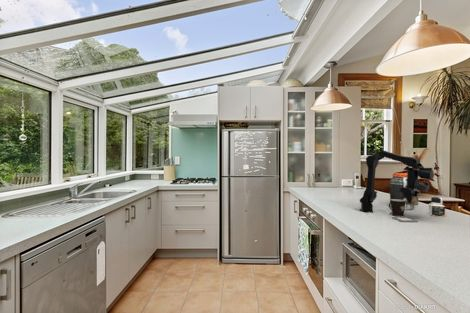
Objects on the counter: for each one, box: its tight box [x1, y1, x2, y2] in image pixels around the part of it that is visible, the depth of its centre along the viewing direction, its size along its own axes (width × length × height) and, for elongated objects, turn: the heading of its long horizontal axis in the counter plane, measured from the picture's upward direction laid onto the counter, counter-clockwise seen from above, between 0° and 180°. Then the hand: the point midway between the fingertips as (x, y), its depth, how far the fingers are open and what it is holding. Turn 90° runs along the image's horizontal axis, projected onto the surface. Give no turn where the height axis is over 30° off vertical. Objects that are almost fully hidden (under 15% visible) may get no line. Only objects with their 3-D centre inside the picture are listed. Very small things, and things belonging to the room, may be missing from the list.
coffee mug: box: [388, 199, 406, 217], centre depth 178 cm, size 12×9×10 cm
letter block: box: [406, 195, 419, 207], centre depth 165 cm, size 5×5×5 cm
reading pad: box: [391, 216, 419, 223], centre depth 165 cm, size 10×10×1 cm
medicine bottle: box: [428, 196, 446, 218], centre depth 177 cm, size 7×7×12 cm
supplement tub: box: [389, 172, 415, 211], centre depth 200 cm, size 16×16×26 cm
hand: (411, 202), depth 165 cm, fingers closed on letter block, 5 cm apart
